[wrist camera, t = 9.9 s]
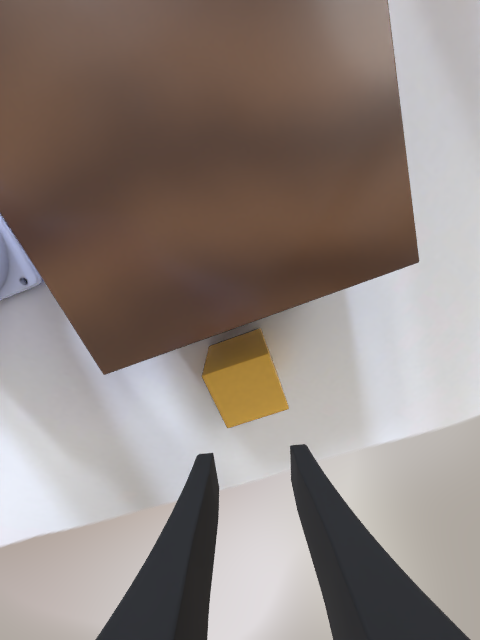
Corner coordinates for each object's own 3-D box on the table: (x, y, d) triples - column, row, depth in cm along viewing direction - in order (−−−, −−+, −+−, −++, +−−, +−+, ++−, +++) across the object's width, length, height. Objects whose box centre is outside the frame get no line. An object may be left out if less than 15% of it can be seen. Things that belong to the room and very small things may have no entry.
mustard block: (228, 389, 19) (227, 428, 15) (208, 346, 18) (201, 376, 14) (277, 373, 19) (289, 409, 15) (260, 327, 18) (268, 353, 13)
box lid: (405, 261, 10) (420, 262, 9) (112, 367, 11) (103, 375, 10) (347, -164, 6) (362, -221, 6) (-76, 62, 8) (-110, 41, 7)
